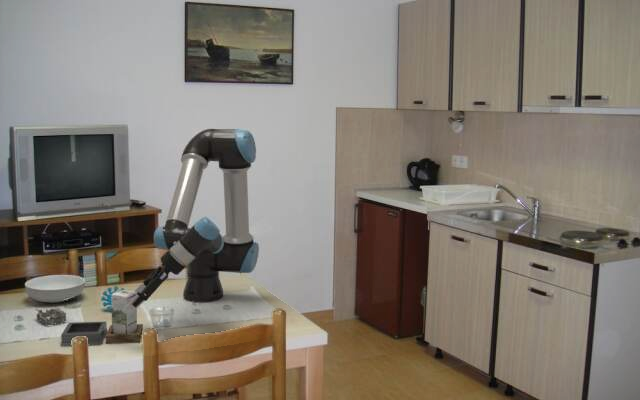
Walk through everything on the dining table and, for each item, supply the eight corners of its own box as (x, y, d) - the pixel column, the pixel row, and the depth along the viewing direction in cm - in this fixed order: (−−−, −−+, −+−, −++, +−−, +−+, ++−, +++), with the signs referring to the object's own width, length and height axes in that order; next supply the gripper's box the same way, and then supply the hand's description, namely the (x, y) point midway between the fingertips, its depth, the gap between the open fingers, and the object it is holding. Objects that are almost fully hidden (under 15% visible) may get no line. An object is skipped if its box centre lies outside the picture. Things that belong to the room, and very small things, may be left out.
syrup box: (138, 335, 209) (137, 291, 207) (127, 341, 203) (126, 295, 201) (122, 333, 210) (121, 289, 209) (111, 339, 205) (110, 293, 203)
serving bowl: (25, 310, 232) (24, 291, 231) (25, 294, 251) (25, 277, 250) (87, 304, 240) (87, 286, 240) (83, 289, 259) (83, 272, 259)
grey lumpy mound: (34, 320, 223) (34, 308, 222) (57, 315, 228) (56, 304, 227) (45, 328, 215) (45, 315, 214) (68, 323, 220) (68, 311, 219)
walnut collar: (142, 331, 213) (142, 323, 212) (139, 342, 203) (139, 334, 203) (110, 332, 211) (110, 325, 211) (105, 343, 201) (105, 335, 201)
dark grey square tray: (107, 331, 212) (107, 321, 211) (101, 344, 200) (101, 333, 200) (68, 333, 210) (68, 322, 209) (60, 346, 198) (60, 334, 198)
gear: (101, 309, 229) (102, 284, 235) (98, 317, 233) (99, 293, 239) (133, 310, 234) (134, 286, 240) (131, 318, 238) (131, 294, 244)
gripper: (170, 242, 218) (123, 287, 217) (166, 258, 193) (114, 309, 193) (187, 257, 219) (140, 303, 218) (185, 275, 195) (133, 326, 194)
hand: (128, 306), depth 206 cm, fingers open, 13 cm apart
